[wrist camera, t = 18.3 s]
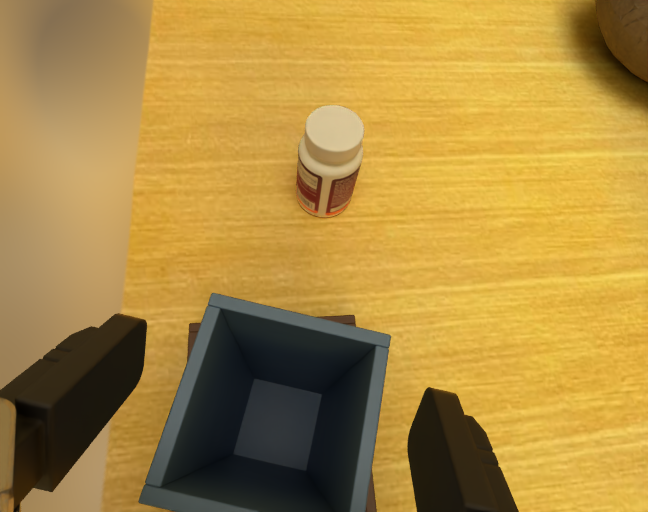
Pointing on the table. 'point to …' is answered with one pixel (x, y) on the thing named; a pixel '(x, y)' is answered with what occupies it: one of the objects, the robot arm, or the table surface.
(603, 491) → the table surface
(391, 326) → the table surface
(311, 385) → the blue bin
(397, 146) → the table surface
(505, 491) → the robot arm
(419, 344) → the table surface
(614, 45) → the clay pot
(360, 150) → the pill bottle
